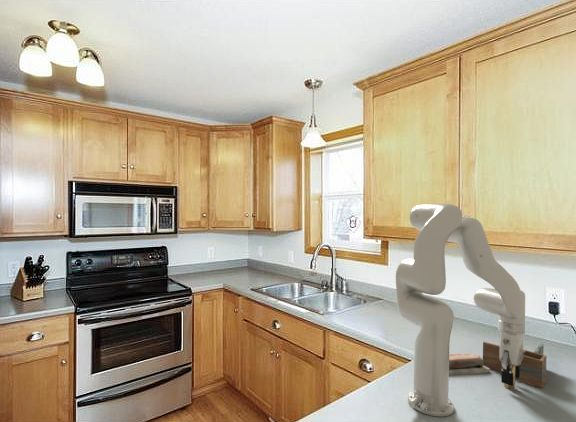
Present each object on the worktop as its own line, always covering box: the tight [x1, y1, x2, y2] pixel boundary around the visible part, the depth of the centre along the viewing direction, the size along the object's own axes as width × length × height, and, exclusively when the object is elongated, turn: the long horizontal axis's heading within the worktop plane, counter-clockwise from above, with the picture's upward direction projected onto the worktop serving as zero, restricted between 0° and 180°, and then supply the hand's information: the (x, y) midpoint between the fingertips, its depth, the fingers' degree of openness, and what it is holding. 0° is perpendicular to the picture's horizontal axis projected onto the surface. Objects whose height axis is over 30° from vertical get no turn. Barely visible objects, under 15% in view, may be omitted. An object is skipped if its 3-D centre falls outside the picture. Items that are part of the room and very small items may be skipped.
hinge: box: [482, 341, 548, 389], centre depth 124 cm, size 19×19×9 cm
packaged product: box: [449, 353, 491, 376], centre depth 125 cm, size 18×5×10 cm
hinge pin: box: [499, 356, 521, 391], centre depth 111 cm, size 6×6×10 cm
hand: (510, 379), depth 111 cm, fingers open, 6 cm apart
